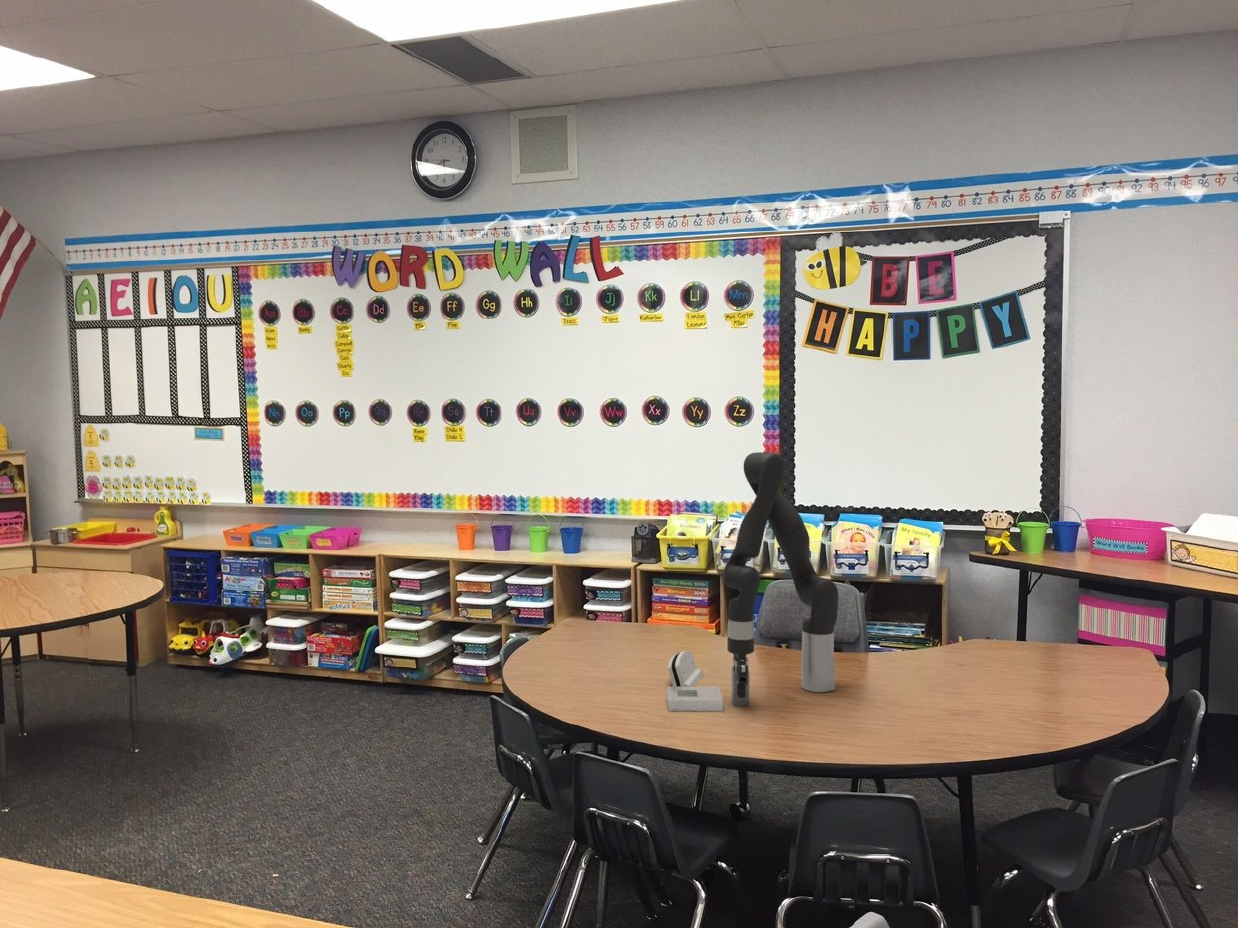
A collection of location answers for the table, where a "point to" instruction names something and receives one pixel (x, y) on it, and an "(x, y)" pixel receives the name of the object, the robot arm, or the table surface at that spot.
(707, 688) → the square hole plate
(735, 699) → the square peg
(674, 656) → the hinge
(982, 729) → the table surface
